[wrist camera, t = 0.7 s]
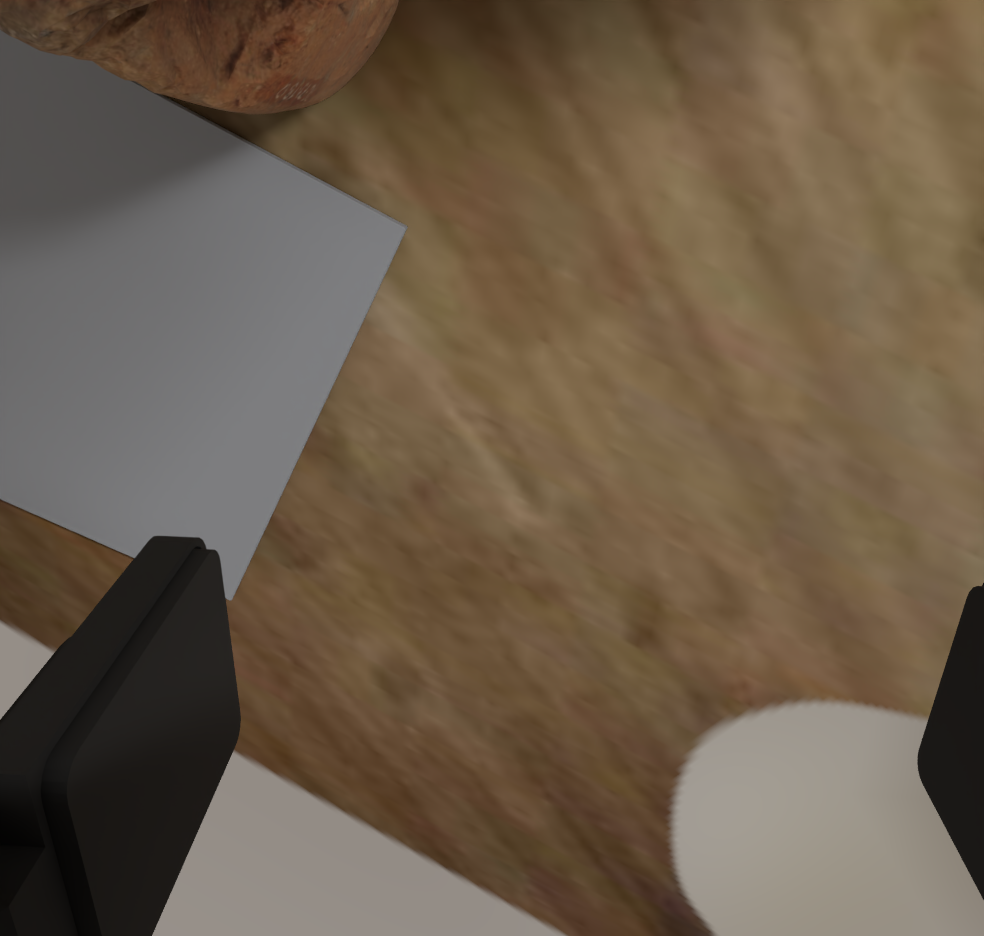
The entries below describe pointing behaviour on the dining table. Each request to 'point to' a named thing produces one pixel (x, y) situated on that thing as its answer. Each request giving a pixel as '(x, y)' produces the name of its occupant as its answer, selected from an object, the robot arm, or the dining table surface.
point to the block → (212, 45)
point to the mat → (163, 310)
